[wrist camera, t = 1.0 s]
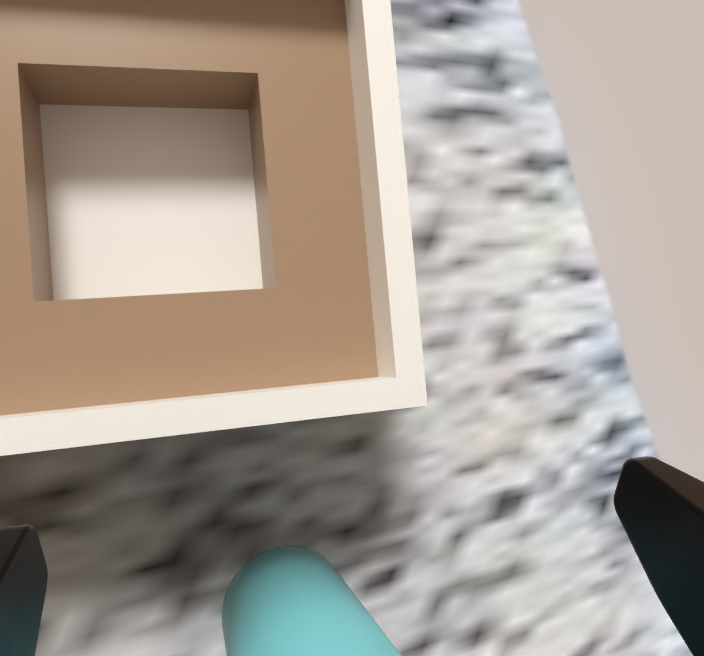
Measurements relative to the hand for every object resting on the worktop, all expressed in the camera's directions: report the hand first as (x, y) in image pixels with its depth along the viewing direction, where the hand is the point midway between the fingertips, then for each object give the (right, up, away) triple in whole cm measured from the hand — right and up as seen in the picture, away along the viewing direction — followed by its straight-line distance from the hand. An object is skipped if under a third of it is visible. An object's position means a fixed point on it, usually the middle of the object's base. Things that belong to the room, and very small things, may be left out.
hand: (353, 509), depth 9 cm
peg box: (-6, +6, +10) cm, 13 cm away
